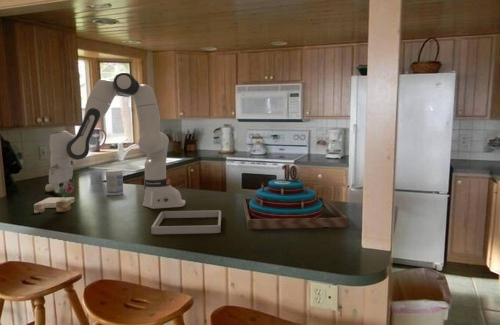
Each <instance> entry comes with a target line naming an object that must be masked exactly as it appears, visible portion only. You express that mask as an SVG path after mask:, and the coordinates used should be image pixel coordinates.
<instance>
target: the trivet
mask: <svg viewBox="0 0 500 325" xmlns="http://www.w3.org/2000/svg"><path fill="white" fill-rule="evenodd" d="M59 200H70V205H71V204H73V203H75V202H76V201H75V200H76V198H75V196H64V197H62V196H61V197H60V196H59V197H47V198H44V199H43V200H41V201H38V202H37V203H44V207H45V209H49V208H53V209H54V208H55V209H56V202H57V201H59Z"/></svg>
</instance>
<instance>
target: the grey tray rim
mask: <svg viewBox="0 0 500 325" xmlns="http://www.w3.org/2000/svg"><path fill="white" fill-rule="evenodd" d="M186 218H187V219H188V218H190V219H192V218H218V220H217V224H214V225H212V224H210V225H207V224H206V225H170V226H169V225H166V226H165V225H161V223H162V221H163V220H164V219H186ZM150 227H151V228H150V229H151V232H150V233H151V235H183V234H185V235H189V234H218V233H222V232H221V231H222V230H221V229H222V210H169V211H168V210H164V211H161V212H160V213H159V214H158V216H157V218H156V219H155V220H154V222H153V224H152V225H151V226H150Z"/></svg>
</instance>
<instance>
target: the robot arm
mask: <svg viewBox="0 0 500 325" xmlns="http://www.w3.org/2000/svg"><path fill="white" fill-rule="evenodd" d="M116 96H118V97H125V98H128V97H132V98H133V100H134V105H135V108H136V114H137V119H138V126H139V130H138V131H139V139H138V148H139V149H140V150H141V151H142V152H143V153H144V154H145V153H146V156H145V162H144V179H143V180H144V181H143V187H144V198H143V202H142V207H147V208H150V209H152V210H153V209H165V208H166V209H168V208H181V207H185V205H186V200H185V199H182V195H181V192H180V191H179V189H176V188H175V187H173V186H172V185H171V179H170V178H167V157H168V151H169V150H168V148H169V144H170V140H169V136H167V134H166V133H165V132H162V131H161V125H160V124H161V115H160V111H159V105H158V101H157V97H156V94H155V91H154V89H153V87H152V86H151V85H149V84H140V83H139V81H138V80H137V79H136V78H135V77H134V76H133V75H132V74H131V73H128V72H126V71H125V72H124V71H122V72H119V73H117V74H116V75H115V76H114V78H113V80H110V79H106V78H101V79H98V80H97V82H96V83H95V85H94V86H93V87H92V89H91V91H90V93H89V95H88V97H87V99H86V103H85V108H84V117H83V120H82V123H81V125H80V127H79V129H78V131H77V133H76V135H74V134H72V133H71V132H69V131H67V130H59V131H54V132H52V133H51V134H50V138H49V151H50V168H49V171H48V183H49V184H50V185H53V186H54V188H55V190H54V192H55V193H57V194H59V192H60V189H59V183H62V182H64V185H63V189H64V190H65V189H67V188H68V182H69V179H71V180H72V178H73V172H74V169H73V165H74V160H76V161H77V160H82V159H85V158H86V157H87V156H88V155H89V153H90V141H91V138H92V137H93V136H92V135H93V134H94V131H95V129H96V126H97V125H98V124H99V122H100V121H101V120H102V119H103V118H104V117H105V115H106V114H107V112H108V111H109V110H110V107H111V105H112V103H113V100H114V99H115V97H116ZM72 159H73V160H72Z"/></svg>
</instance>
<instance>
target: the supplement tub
mask: <svg viewBox="0 0 500 325" xmlns="http://www.w3.org/2000/svg"><path fill="white" fill-rule="evenodd" d="M123 176H124V175H123V169H108V170H106V171H105V181H106V182H105V183H106V194H107V195H108V196H121V195H122V194H124V181H123V179H124V177H123Z"/></svg>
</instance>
